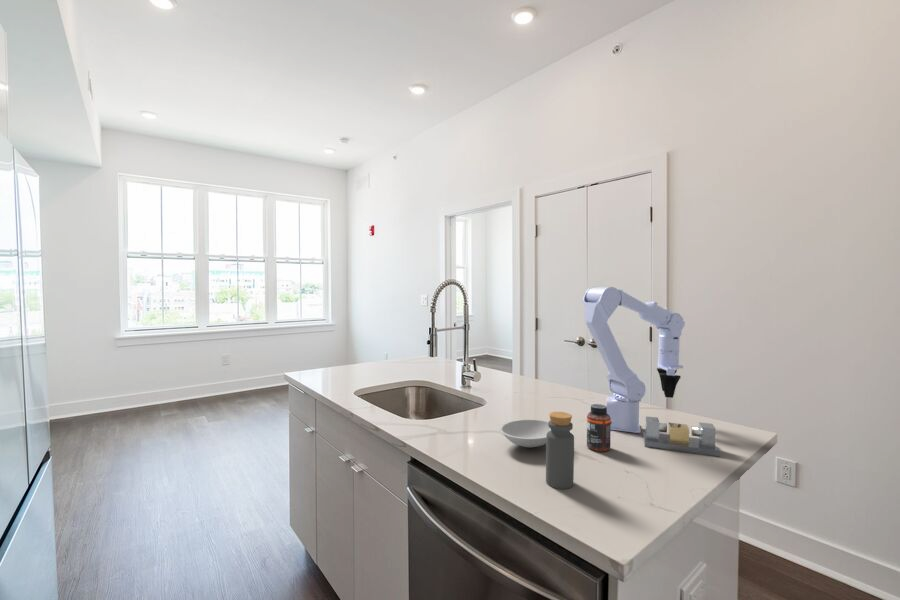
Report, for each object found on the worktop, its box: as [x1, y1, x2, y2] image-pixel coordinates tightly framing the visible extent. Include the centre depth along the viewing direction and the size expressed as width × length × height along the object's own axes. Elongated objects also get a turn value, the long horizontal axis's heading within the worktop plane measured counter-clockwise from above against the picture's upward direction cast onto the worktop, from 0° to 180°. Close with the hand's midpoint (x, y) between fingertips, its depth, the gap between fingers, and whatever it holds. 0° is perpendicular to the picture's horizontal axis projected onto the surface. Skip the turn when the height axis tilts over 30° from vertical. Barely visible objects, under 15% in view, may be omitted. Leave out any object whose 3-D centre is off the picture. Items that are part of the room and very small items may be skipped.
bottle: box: [545, 411, 575, 490], centre depth 91 cm, size 6×6×15 cm
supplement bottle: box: [586, 403, 612, 453], centre depth 111 cm, size 6×6×11 cm
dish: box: [498, 418, 551, 449], centre depth 112 cm, size 18×14×5 cm
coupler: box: [667, 422, 690, 444], centre depth 113 cm, size 4×4×4 cm
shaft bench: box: [642, 416, 720, 457], centre depth 113 cm, size 17×8×6 cm, turn 68°
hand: (667, 394), depth 130 cm, fingers open, 7 cm apart
